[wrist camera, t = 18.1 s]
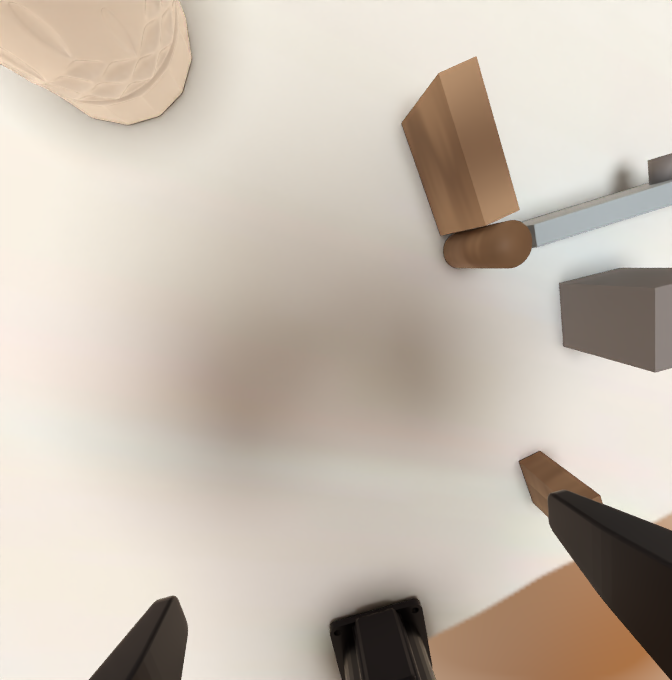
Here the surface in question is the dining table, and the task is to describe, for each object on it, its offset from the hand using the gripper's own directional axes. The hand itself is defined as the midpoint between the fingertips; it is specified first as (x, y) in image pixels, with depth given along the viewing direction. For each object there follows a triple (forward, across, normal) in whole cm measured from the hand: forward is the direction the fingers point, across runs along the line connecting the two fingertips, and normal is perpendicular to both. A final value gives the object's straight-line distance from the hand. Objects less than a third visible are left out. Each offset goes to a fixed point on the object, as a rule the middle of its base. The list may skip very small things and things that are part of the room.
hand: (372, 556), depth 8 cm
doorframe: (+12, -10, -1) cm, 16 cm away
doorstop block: (+12, -17, -1) cm, 21 cm away
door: (+12, -17, -7) cm, 22 cm away
